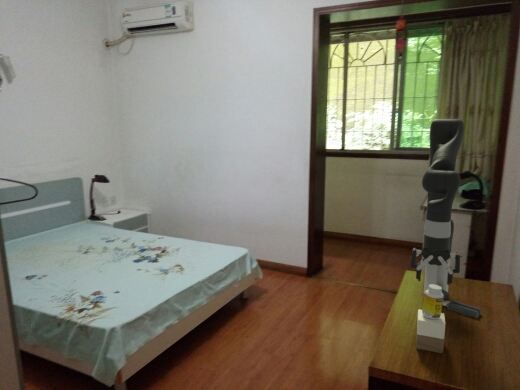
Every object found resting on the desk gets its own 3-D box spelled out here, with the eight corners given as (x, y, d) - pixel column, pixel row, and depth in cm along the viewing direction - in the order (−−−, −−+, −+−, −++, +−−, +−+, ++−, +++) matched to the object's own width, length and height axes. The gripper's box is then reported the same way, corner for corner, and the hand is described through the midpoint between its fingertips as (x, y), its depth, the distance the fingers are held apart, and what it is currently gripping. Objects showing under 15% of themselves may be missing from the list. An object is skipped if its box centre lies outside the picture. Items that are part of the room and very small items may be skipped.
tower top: (417, 322, 134) (418, 309, 134) (442, 327, 132) (444, 313, 131) (416, 334, 127) (417, 319, 126) (444, 339, 124) (445, 324, 123)
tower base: (416, 336, 135) (417, 322, 135) (441, 340, 132) (443, 327, 132) (416, 348, 128) (417, 334, 127) (443, 353, 125) (444, 339, 124)
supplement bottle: (434, 321, 125) (438, 291, 123) (418, 314, 129) (422, 285, 127) (443, 317, 128) (448, 287, 126) (427, 310, 133) (431, 281, 131)
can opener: (426, 303, 160) (427, 289, 159) (432, 300, 163) (433, 285, 162) (477, 320, 146) (478, 304, 145) (481, 315, 150) (483, 300, 149)
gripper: (461, 232, 124) (457, 281, 127) (413, 228, 130) (410, 275, 133) (463, 239, 117) (459, 290, 120) (412, 234, 123) (409, 283, 126)
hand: (433, 282), depth 127 cm, fingers open, 8 cm apart
